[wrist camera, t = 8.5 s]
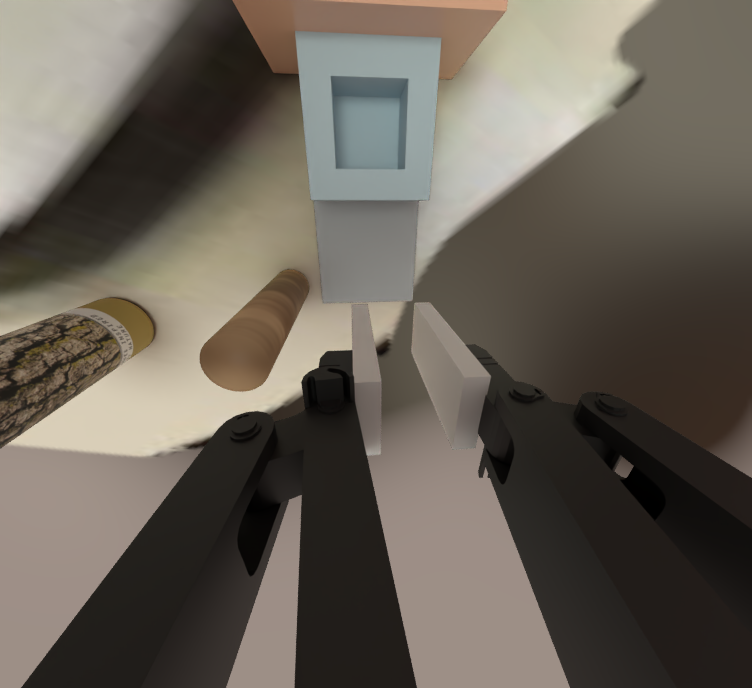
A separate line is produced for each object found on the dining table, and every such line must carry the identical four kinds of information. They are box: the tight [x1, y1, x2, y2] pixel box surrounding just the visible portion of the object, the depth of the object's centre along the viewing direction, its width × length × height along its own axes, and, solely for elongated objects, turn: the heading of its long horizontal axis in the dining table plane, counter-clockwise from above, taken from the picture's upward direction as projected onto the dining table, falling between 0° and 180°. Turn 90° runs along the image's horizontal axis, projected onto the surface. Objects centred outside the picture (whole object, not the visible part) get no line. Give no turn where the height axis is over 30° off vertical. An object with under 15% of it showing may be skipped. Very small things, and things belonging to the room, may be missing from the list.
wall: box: [233, 0, 508, 79], centre depth 20 cm, size 2×16×10 cm, turn 90°
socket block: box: [295, 31, 441, 201], centre depth 24 cm, size 10×10×6 cm
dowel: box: [200, 270, 309, 391], centre depth 25 cm, size 4×4×18 cm
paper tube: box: [0, 298, 154, 448], centre depth 22 cm, size 7×7×25 cm
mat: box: [314, 200, 418, 303], centre depth 29 cm, size 23×11×1 cm, turn 0°
